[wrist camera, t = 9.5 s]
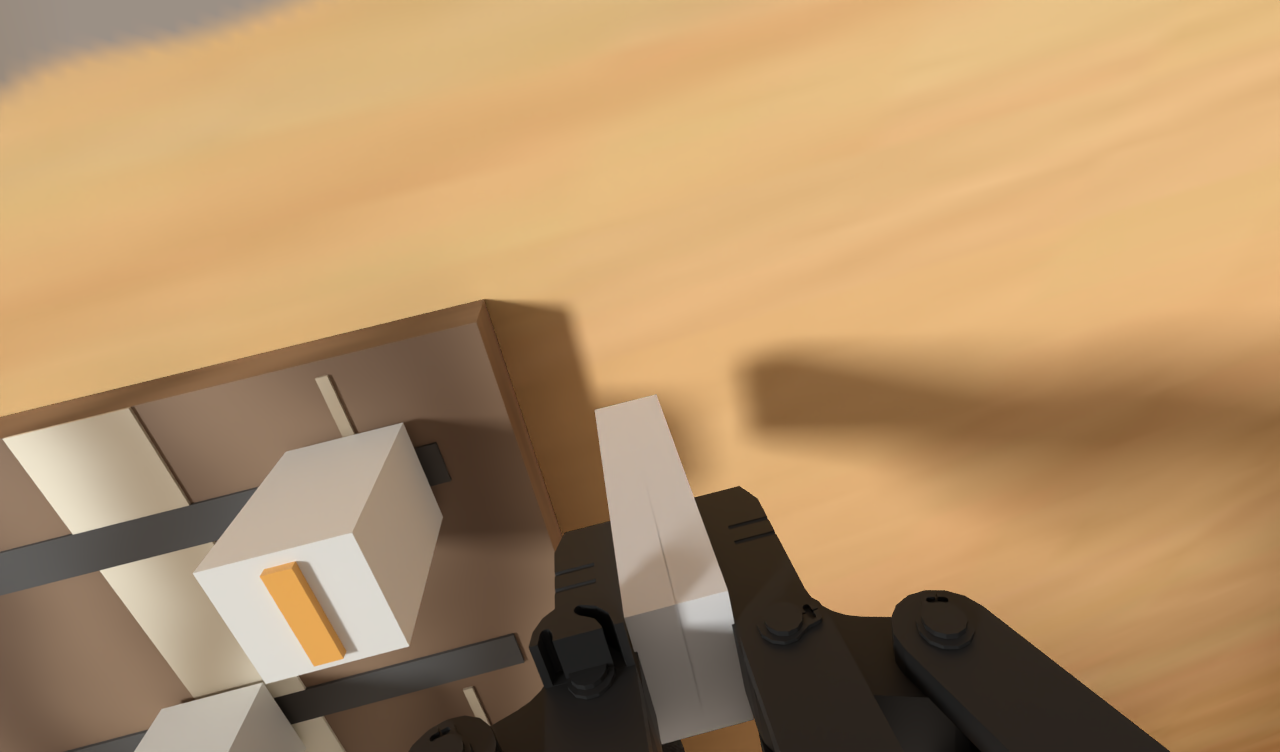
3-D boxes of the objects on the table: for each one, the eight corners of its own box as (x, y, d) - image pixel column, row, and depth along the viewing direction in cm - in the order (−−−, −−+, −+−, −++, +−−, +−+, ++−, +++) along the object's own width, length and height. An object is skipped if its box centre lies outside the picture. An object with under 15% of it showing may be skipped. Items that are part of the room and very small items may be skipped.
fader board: (54, 803, 22) (8, 869, 20) (-260, 480, 16) (-367, 529, 15) (602, 657, 23) (606, 707, 21) (484, 299, 17) (475, 323, 15)
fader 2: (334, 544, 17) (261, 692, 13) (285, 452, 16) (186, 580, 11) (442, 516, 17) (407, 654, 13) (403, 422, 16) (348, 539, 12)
